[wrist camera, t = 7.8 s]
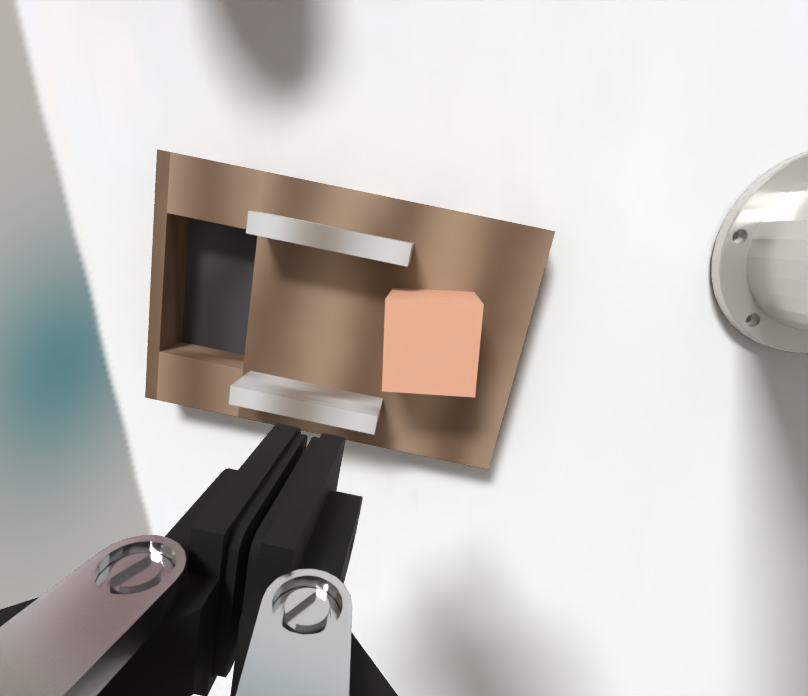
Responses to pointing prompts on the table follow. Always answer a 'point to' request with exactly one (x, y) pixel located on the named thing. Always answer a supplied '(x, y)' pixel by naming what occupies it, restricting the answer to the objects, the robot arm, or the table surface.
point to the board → (325, 304)
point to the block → (431, 342)
